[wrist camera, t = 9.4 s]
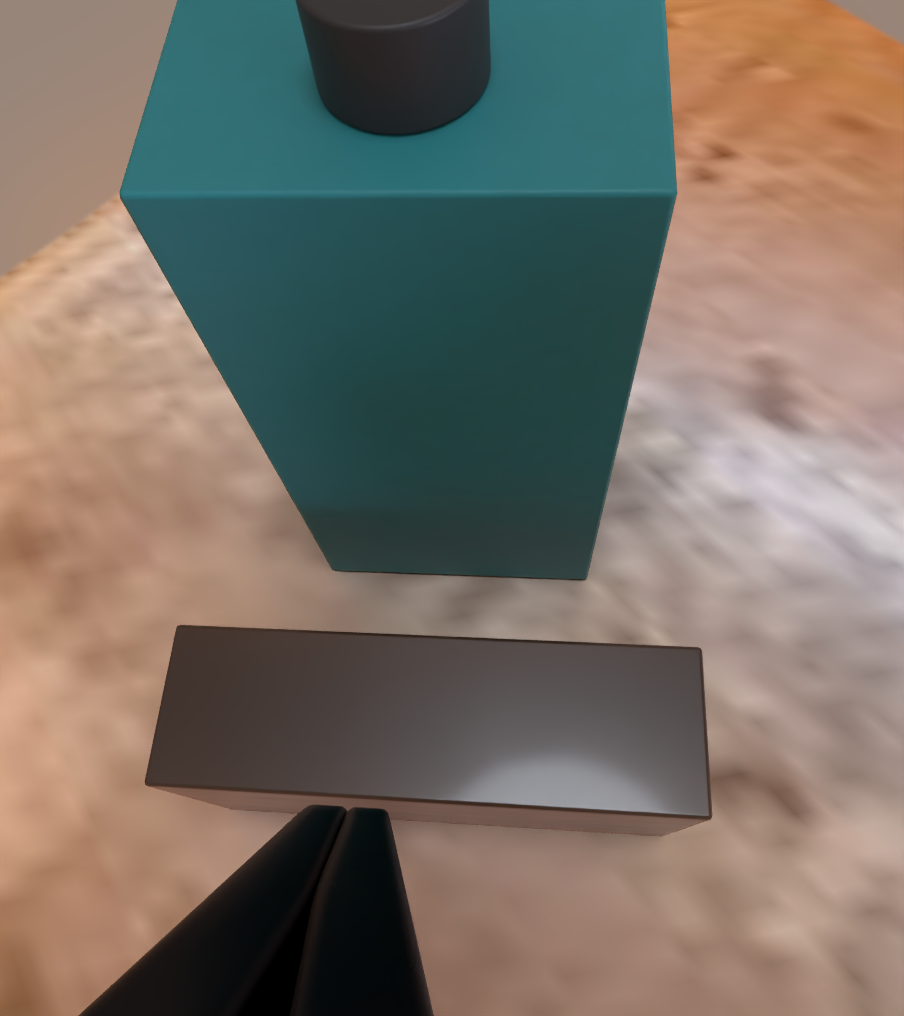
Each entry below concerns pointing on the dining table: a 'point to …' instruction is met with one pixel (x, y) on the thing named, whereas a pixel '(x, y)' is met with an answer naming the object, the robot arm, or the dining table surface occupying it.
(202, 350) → the dining table surface
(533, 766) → the walnut block
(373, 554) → the plastic bottle
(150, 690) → the dining table surface
